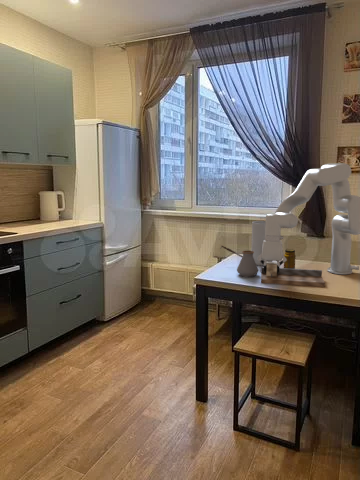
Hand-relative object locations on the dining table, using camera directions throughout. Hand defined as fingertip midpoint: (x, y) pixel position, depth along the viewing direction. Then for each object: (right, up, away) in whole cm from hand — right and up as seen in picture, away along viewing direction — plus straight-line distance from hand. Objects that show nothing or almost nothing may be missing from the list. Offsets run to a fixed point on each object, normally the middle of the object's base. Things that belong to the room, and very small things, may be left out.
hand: (271, 272), depth 188 cm
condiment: (+15, -1, +17) cm, 22 cm away
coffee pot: (-15, -2, +11) cm, 19 cm away
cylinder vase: (+2, +3, +34) cm, 34 cm away
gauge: (0, -1, -2) cm, 2 cm away
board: (+9, -4, -3) cm, 11 cm away
